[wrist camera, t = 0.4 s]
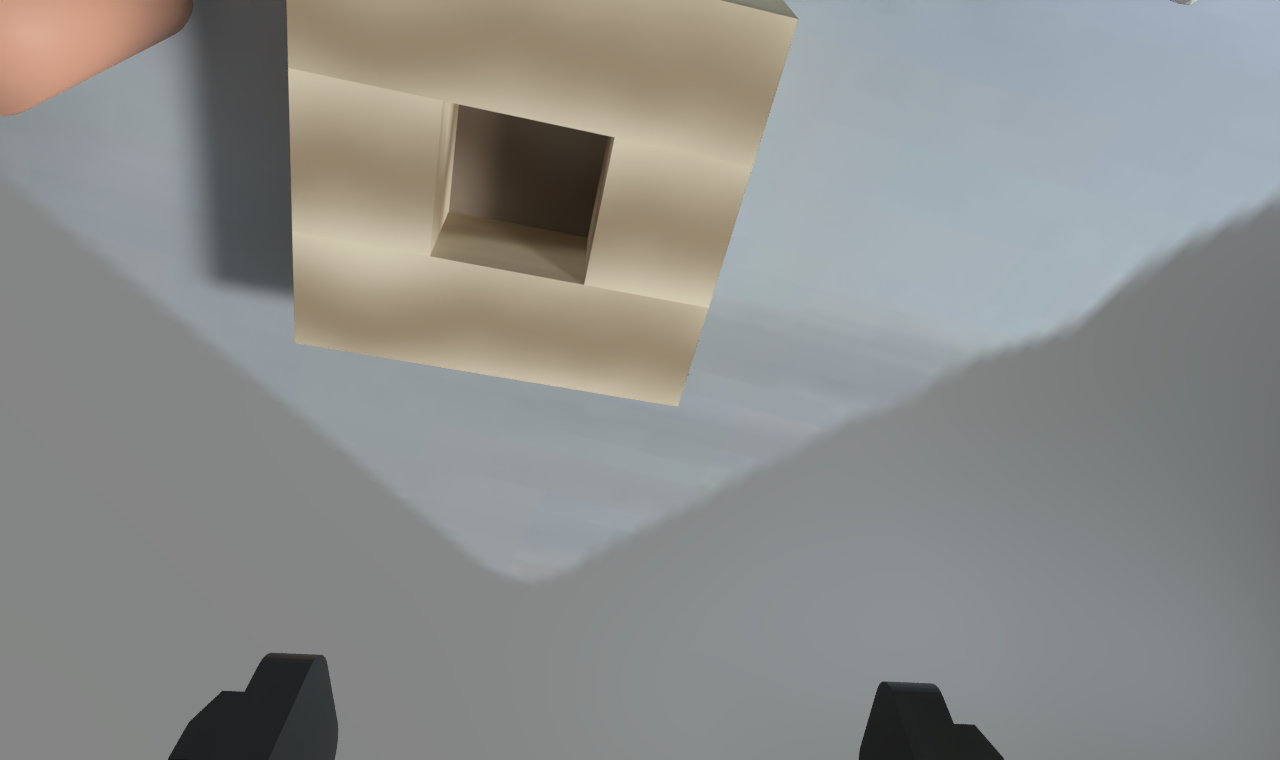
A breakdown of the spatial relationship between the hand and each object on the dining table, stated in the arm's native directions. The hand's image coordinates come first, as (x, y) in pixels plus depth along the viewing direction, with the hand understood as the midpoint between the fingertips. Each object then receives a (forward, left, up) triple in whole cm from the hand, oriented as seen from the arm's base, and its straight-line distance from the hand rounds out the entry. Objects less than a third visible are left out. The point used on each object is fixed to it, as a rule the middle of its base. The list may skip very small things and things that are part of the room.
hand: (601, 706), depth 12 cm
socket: (0, -3, -22) cm, 22 cm away
